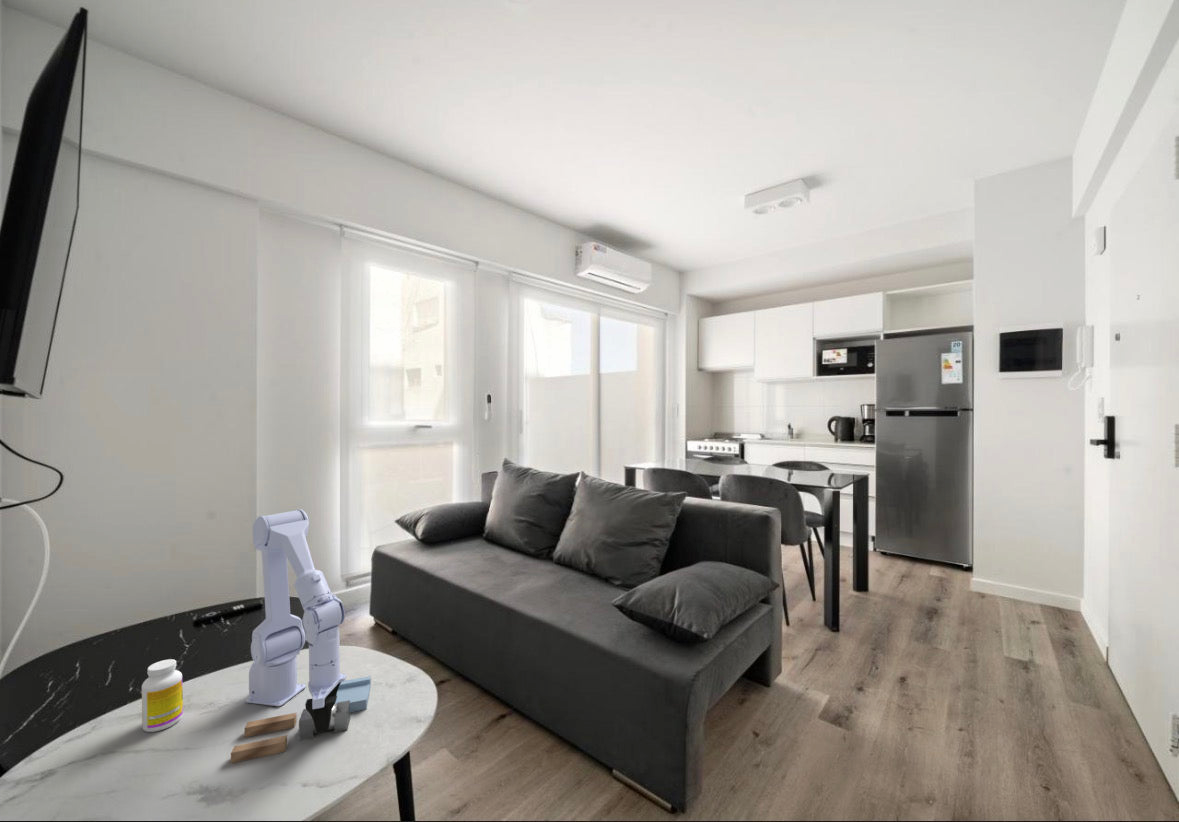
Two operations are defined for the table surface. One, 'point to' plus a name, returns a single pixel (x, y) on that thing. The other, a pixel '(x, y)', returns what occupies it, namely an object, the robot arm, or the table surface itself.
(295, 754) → the table surface
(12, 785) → the table surface
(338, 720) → the silver boxy piece
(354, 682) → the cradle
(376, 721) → the table surface
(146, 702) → the supplement bottle
